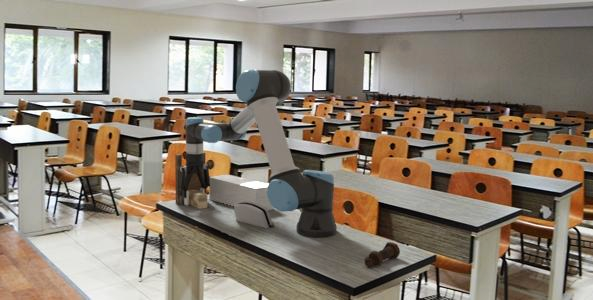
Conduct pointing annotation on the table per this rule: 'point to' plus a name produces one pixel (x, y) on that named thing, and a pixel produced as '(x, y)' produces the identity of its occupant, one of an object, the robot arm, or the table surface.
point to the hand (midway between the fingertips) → (194, 203)
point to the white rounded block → (253, 214)
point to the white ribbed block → (238, 191)
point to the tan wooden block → (197, 198)
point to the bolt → (382, 255)
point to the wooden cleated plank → (193, 182)
